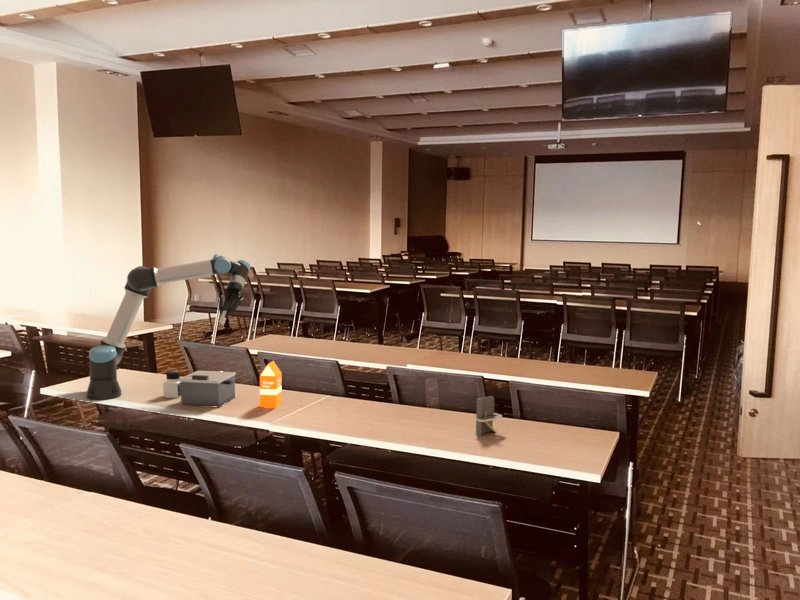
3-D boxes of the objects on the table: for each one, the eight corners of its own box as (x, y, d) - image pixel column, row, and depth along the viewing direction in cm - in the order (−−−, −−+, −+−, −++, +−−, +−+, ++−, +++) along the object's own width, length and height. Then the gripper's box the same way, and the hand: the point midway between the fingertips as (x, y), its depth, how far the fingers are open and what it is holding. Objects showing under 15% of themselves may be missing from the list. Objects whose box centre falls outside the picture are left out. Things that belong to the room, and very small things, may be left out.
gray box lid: (199, 372, 306) (199, 366, 306) (236, 374, 304) (236, 368, 303) (178, 381, 286) (178, 375, 286) (218, 383, 284) (218, 377, 283)
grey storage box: (194, 395, 306) (194, 373, 305) (239, 398, 303) (239, 375, 302) (176, 405, 289) (175, 381, 288) (223, 407, 285) (223, 383, 284)
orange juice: (282, 403, 294) (281, 360, 293) (276, 408, 286) (276, 364, 284) (265, 402, 295) (265, 360, 293) (259, 407, 286) (259, 363, 285)
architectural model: (527, 435, 251) (528, 399, 250) (480, 446, 237) (481, 408, 236) (492, 423, 267) (493, 389, 266) (446, 433, 253) (447, 397, 252)
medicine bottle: (178, 398, 302) (177, 373, 301) (163, 397, 302) (162, 372, 301) (183, 394, 309) (183, 370, 308) (169, 394, 309) (168, 369, 308)
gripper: (249, 291, 324) (236, 328, 309) (225, 290, 326) (211, 327, 311) (245, 281, 318) (232, 318, 304) (221, 280, 321) (206, 317, 306)
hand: (221, 322), depth 308 cm, fingers closed
